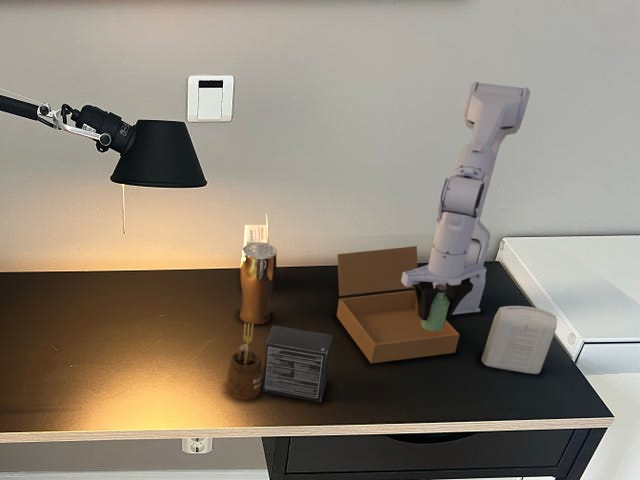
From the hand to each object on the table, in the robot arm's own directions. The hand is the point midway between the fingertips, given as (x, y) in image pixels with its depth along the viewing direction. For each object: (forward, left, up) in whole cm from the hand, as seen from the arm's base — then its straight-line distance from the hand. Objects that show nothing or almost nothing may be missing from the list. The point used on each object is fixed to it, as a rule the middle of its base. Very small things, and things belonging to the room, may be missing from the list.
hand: (434, 316), depth 134 cm
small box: (+26, +2, -10) cm, 28 cm away
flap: (+1, -19, -1) cm, 20 cm away
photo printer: (-15, +4, -10) cm, 19 cm away
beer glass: (+26, -22, -10) cm, 35 cm away
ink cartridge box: (+22, -36, -10) cm, 43 cm away
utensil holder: (+35, +1, -10) cm, 36 cm away
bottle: (0, 0, -2) cm, 2 cm away
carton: (+1, -10, -10) cm, 14 cm away
